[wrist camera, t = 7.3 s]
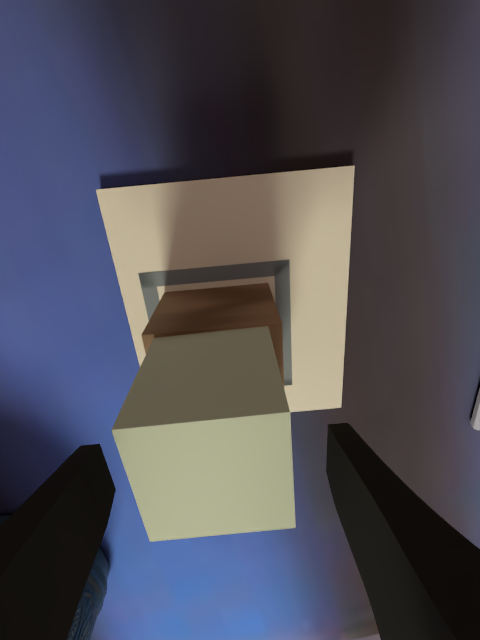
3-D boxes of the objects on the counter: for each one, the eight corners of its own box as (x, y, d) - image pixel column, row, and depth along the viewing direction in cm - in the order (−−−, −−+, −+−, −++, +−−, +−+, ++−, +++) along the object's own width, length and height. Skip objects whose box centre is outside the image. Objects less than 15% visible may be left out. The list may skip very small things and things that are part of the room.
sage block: (268, 325, 13) (290, 412, 8) (274, 416, 15) (295, 527, 10) (153, 337, 13) (111, 430, 8) (174, 426, 15) (150, 541, 10)
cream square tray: (350, 165, 16) (354, 165, 15) (338, 401, 21) (341, 407, 21) (100, 189, 16) (95, 189, 15) (156, 417, 21) (154, 424, 21)
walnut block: (268, 282, 17) (282, 322, 13) (272, 370, 19) (285, 431, 15) (164, 292, 17) (141, 335, 13) (181, 378, 19) (166, 441, 15)
